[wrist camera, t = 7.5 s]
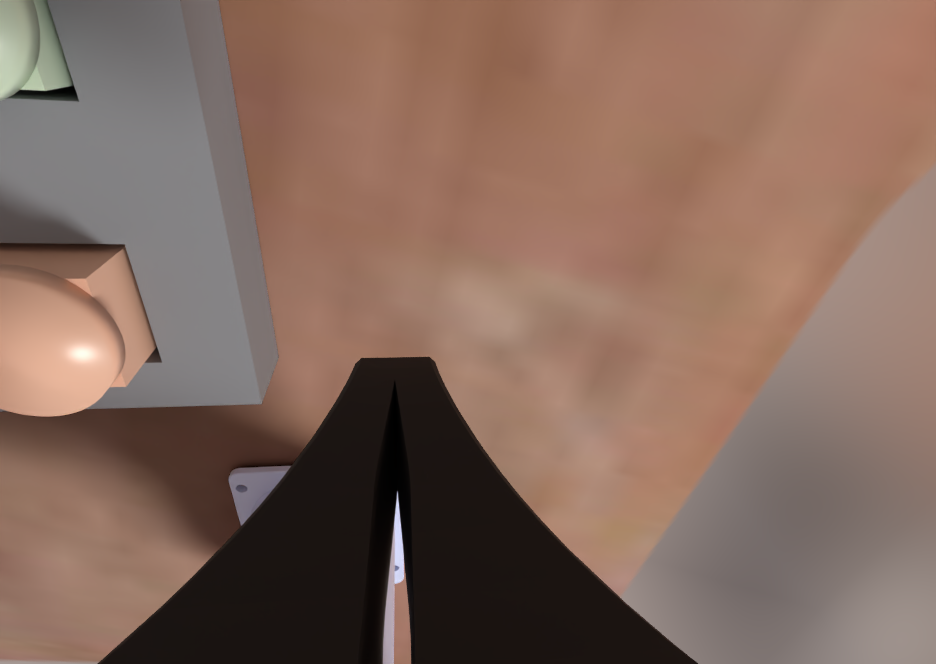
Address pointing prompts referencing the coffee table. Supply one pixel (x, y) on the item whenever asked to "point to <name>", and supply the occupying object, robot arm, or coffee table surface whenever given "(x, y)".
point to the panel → (150, 190)
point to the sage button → (30, 49)
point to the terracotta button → (68, 326)
